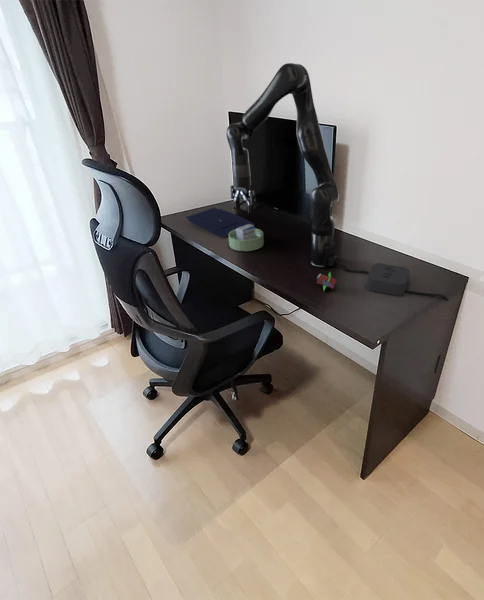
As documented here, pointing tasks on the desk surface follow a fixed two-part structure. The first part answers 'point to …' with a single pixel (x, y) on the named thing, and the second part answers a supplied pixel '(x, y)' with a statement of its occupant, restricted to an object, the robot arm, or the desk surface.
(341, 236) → the desk surface
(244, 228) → the medicine box
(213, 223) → the folded navy cloth
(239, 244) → the bowl
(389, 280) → the streaming box
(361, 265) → the desk surface
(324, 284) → the geometric puzzle
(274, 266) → the desk surface
